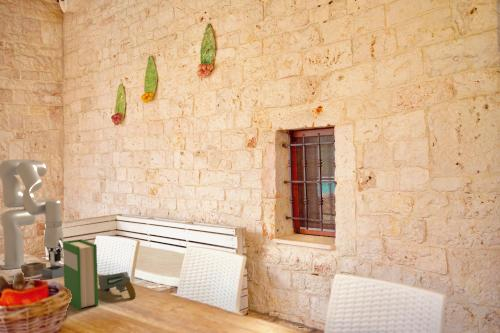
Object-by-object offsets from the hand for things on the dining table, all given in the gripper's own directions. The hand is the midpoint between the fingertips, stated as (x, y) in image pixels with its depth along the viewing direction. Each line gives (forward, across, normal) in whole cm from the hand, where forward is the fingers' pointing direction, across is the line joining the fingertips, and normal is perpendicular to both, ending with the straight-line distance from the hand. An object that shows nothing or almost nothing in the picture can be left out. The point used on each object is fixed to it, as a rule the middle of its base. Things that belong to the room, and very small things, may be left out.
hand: (54, 260), depth 215 cm
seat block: (+8, 0, 0) cm, 8 cm away
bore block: (+8, -14, -3) cm, 16 cm away
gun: (+8, +52, -5) cm, 53 cm away
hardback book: (+8, +50, -21) cm, 55 cm away
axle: (+6, 0, 0) cm, 6 cm away
